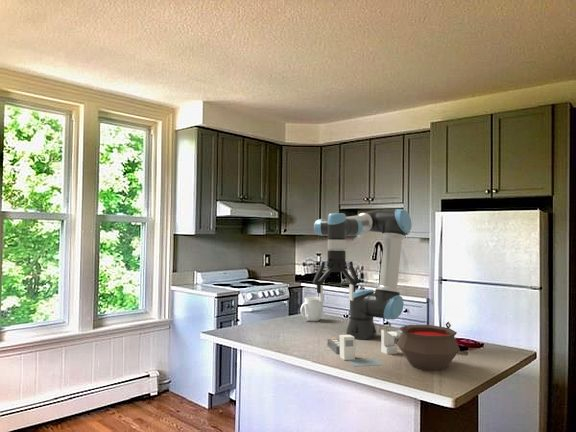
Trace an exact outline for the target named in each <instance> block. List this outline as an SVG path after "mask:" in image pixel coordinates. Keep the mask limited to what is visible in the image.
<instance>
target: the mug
mask: <svg viewBox="0 0 576 432" xmlns="http://www.w3.org/2000/svg"><path fill="white" fill-rule="evenodd" d="M303 299H304V302H303V303H302V304H301V306H300V311H299V312H300V314H301V316H302V317H303V318H306V319H307V321H309V322H319V321H320V319H321V318H322V315H323V311H324V310H323V308H324V301H323V302H321V301H319V296H305V297H304V298H303ZM303 309H304V311H303Z"/></svg>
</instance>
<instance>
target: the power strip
mask: <svg viewBox="0 0 576 432" xmlns="http://www.w3.org/2000/svg"><path fill="white" fill-rule="evenodd" d="M326 343H327V347H328V348H329V349H331V351H333V352H334V353H335V354H336V355H338V354H339V355H340V338H336V337H331V338H327V342H326Z"/></svg>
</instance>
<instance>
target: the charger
mask: <svg viewBox="0 0 576 432" xmlns="http://www.w3.org/2000/svg"><path fill="white" fill-rule="evenodd" d="M339 340H340V354H339V357H340V359H342V360H343V361H347V360H355V359H356V351H355V350H356V348H355V346H356V343H355V338H354V336H351V335H346V334H339Z"/></svg>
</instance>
